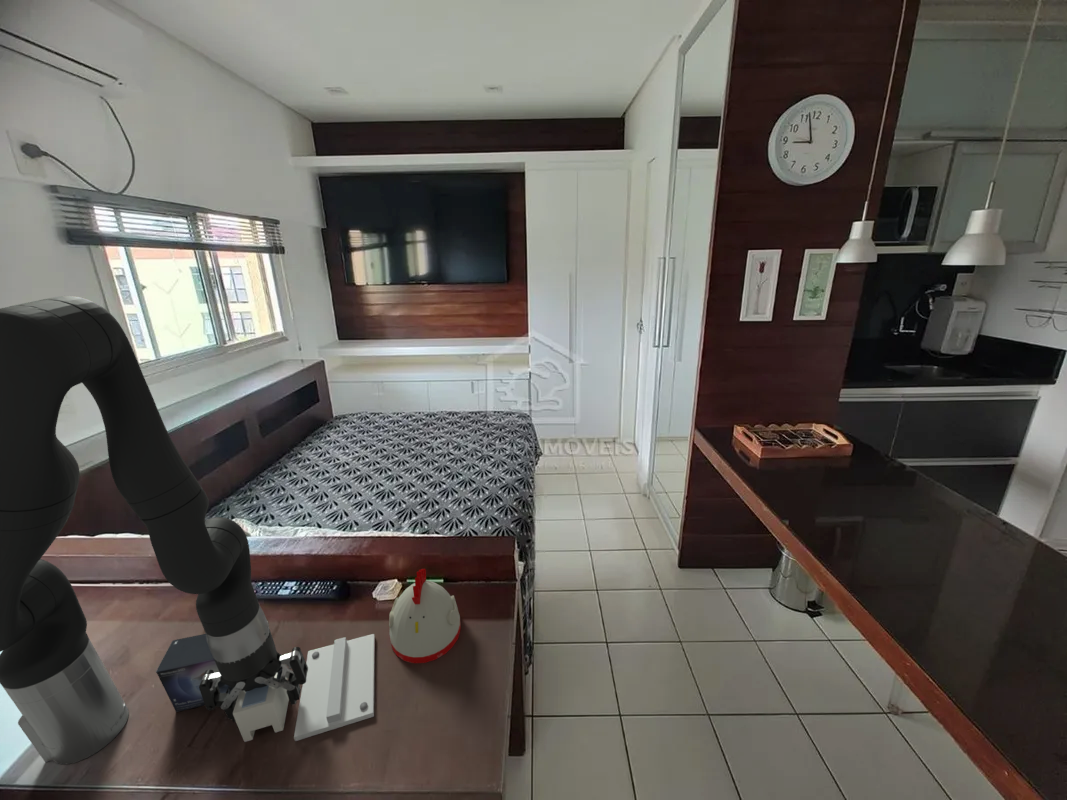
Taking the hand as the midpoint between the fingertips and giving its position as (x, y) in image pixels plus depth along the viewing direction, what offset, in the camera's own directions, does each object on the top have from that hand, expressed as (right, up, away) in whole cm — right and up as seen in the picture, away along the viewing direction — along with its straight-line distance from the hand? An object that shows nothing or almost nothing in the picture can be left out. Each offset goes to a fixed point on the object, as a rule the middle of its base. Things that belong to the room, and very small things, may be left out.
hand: (267, 707), depth 73 cm
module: (0, -2, +1) cm, 2 cm away
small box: (-12, 0, +5) cm, 13 cm away
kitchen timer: (+23, +4, +16) cm, 28 cm away
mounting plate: (+10, 0, +6) cm, 11 cm away
